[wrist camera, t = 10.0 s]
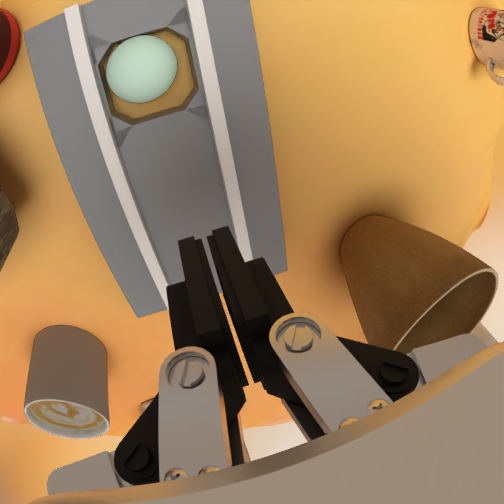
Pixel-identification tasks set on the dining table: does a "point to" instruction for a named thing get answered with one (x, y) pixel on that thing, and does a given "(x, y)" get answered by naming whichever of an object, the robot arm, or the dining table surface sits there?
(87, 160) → the board
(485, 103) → the dining table surface
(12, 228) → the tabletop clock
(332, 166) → the dining table surface
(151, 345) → the dining table surface
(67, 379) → the coffee mug
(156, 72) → the ball
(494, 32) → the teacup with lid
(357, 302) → the plant pot
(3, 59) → the canned food
